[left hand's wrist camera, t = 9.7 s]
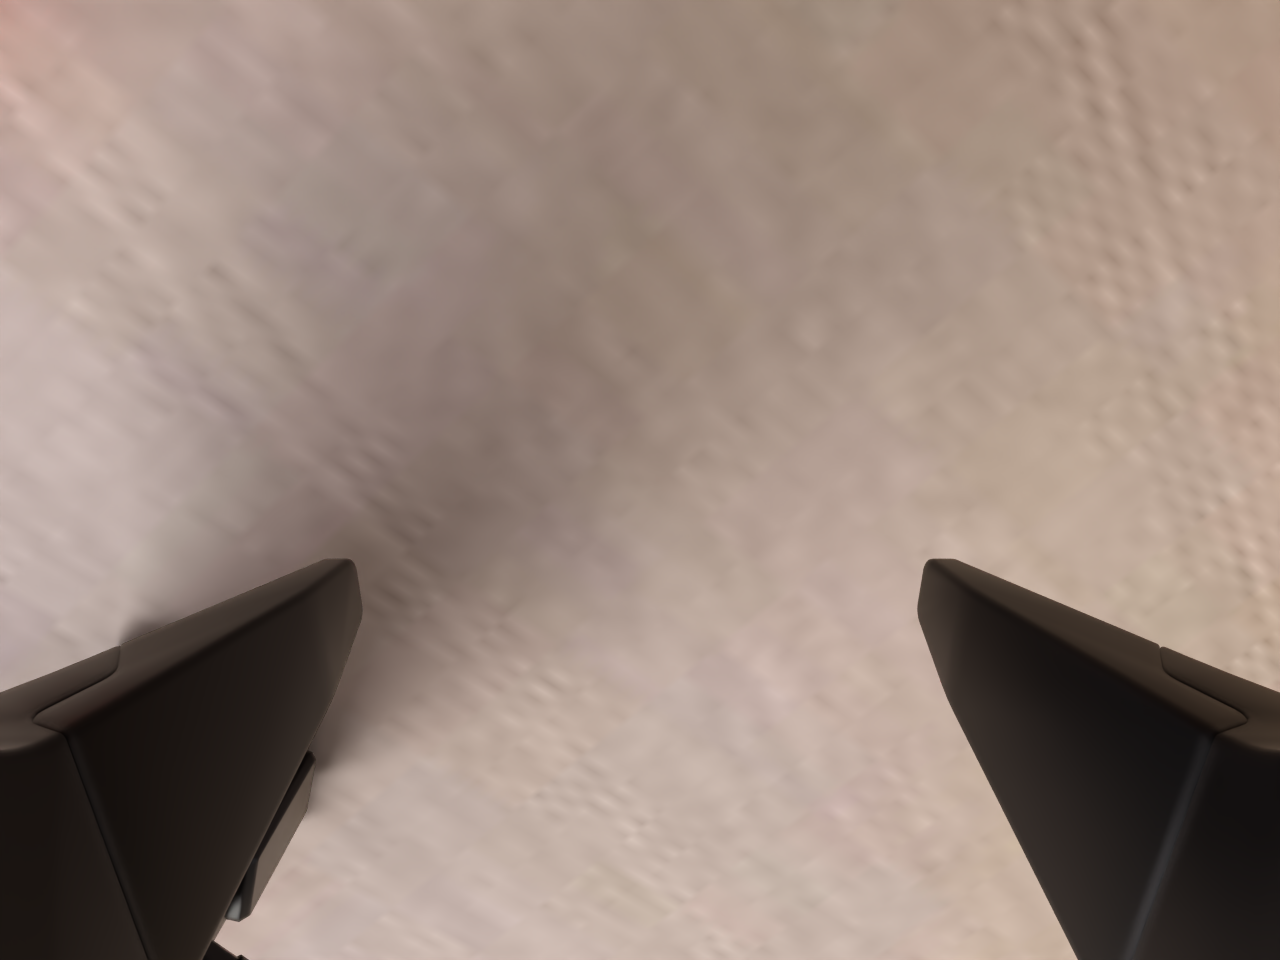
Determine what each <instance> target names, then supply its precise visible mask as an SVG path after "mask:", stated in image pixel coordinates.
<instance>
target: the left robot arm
mask: <svg viewBox="0 0 1280 960" xmlns="http://www.w3.org/2000/svg"><path fill="white" fill-rule="evenodd" d="M362 611H363V609H362V600H361V594H360V587H359V581H358V575H357V570H356V566H355V564H354V562H353V561H352V560H350V559H324V560H322V561H319V562H317V563H315V564H312V565H310V566H307V567H305V568H303V569H300V570H298V571H295V572H293V573H291V574H288V575H286V576H284V577H281V578H279V579H276V580H274V581H272V582H269V583H267V584H264V585H262V586H260V587H257V588H255V589H252V590H250V591H248V592H245V593H243V594H241V595H238V596H236V597H233V598H231V599H229V600H226V601H224V602H221V603H219V604H217V605H214V606H212V607H209V608H207V609H205V610H202V611H200V612H198V613H195V614H193V615H190V616H188V617H186V618H183V619H181V620H178V621H176V622H174V623H171V624H169V625H167V626H164V627H162V628H159V629H157V630H155V631H152V632H150V633H147V634H145V635H143V636H140V637H138V638H135V639H133V640H131V641H128V642H126V643H124V644H122V645H121V646H118V647H114V648H111V649H109V650H107V651H104V652H102V653H99V654H97V655H95V656H92V657H90V658H87V659H85V660H82V661H80V662H77V663H75V664H73V665H70V666H68V667H65V668H63V669H60V670H58V671H55V672H53V673H50V674H48V675H45V676H42V677H40V678H37V679H35V680H32V681H29V682H27V683H24V684H21V685H19V686H16V687H14V688H11V689H8V690H6V691H3V692H0V960H248V959H247V958H245V957H244V956H242V955H239V956H235V955H234V954H232V953H231V952H229V951H228V950H226V949H225V948H223V947H222V946H220V945H219V944H218V943H216V942H215V941H214V940H215V938H216V936H217V934H218V933H219V931H220V929H221V927H222V926H223V924H224V922H225V921H226V919H228V920H233V921H238V922H240V921H241V920H243V919H244V918H246V917H248V916H249V915H250V914H251V913H252V911H253V909H254V907H255V905H256V903H257V902H258V900H259V898H260V896H261V894H262V892H263V891H264V889H265V887H266V885H267V883H268V881H269V880H270V878H271V876H272V874H273V872H274V870H275V868H276V867H277V865H278V863H279V861H280V859H281V857H282V856H283V854H284V852H285V850H286V848H287V846H288V844H289V843H290V841H291V839H292V837H293V835H294V833H295V832H296V830H297V828H298V826H299V824H300V822H301V821H302V819H303V817H304V815H305V813H306V811H307V806H308V801H309V795H310V790H311V785H312V779H313V774H314V769H315V763H316V759H315V756H314V754H313V752H310V751H308V749H309V745H310V743H311V741H312V740H313V738H314V736H315V734H316V732H317V730H318V728H319V726H320V724H321V722H322V720H323V718H324V716H325V714H326V712H327V709H328V707H329V705H330V703H331V701H332V699H333V696H334V694H335V691H336V689H337V686H338V683H339V681H340V678H341V675H342V672H343V669H344V667H345V664H346V661H347V658H348V655H349V653H350V650H351V647H352V644H353V641H354V639H355V636H356V633H357V630H358V627H359V625H360V622H361V618H362ZM917 611H918V618H919V622H920V625H921V628H922V630H923V633H924V636H925V639H926V641H927V644H928V647H929V650H930V653H931V655H932V658H933V661H934V664H935V667H936V669H937V672H938V675H939V678H940V681H941V683H942V686H943V689H944V691H945V694H946V696H947V699H948V701H949V703H950V705H951V707H952V709H953V712H954V714H955V716H956V718H957V720H958V722H959V724H960V726H961V728H962V730H963V732H964V734H965V736H966V738H967V740H968V742H969V744H970V746H971V748H972V750H973V752H974V753H975V755H976V757H977V759H978V761H979V763H980V765H981V767H982V769H983V771H984V773H985V775H986V777H987V779H988V781H989V783H990V785H991V787H992V789H993V791H994V793H995V795H996V797H997V799H998V801H999V803H1000V805H1001V807H1002V809H1003V811H1004V813H1005V815H1006V817H1007V819H1008V821H1009V823H1010V825H1011V827H1012V829H1013V831H1014V833H1015V835H1016V837H1017V839H1018V841H1019V843H1020V845H1021V847H1022V849H1023V851H1024V853H1025V855H1026V857H1027V859H1028V861H1029V863H1030V865H1031V867H1032V869H1033V871H1034V873H1035V875H1036V877H1037V879H1038V881H1039V883H1040V885H1041V887H1042V889H1043V891H1044V893H1045V895H1046V897H1047V899H1048V901H1049V903H1050V905H1051V907H1052V909H1053V911H1054V913H1055V915H1056V917H1057V919H1058V921H1059V923H1060V925H1061V927H1062V929H1063V931H1064V933H1065V935H1066V937H1067V939H1068V941H1069V943H1070V945H1071V947H1072V949H1073V951H1074V953H1075V955H1076V957H1077V959H1078V960H1280V692H1277V691H1274V690H1272V689H1269V688H1266V687H1264V686H1261V685H1259V684H1256V683H1253V682H1251V681H1248V680H1245V679H1243V678H1240V677H1238V676H1235V675H1232V674H1230V673H1227V672H1225V671H1222V670H1220V669H1217V668H1215V667H1212V666H1210V665H1207V664H1205V663H1203V662H1200V661H1198V660H1195V659H1193V658H1190V657H1188V656H1185V655H1183V654H1181V653H1178V652H1176V651H1173V650H1171V649H1169V648H1166V647H1161V648H1160V647H1159V645H1158V644H1156V643H1154V642H1152V641H1149V640H1147V639H1144V638H1142V637H1140V636H1137V635H1135V634H1133V633H1130V632H1128V631H1125V630H1123V629H1121V628H1118V627H1116V626H1113V625H1111V624H1109V623H1106V622H1104V621H1102V620H1099V619H1097V618H1094V617H1092V616H1090V615H1087V614H1085V613H1082V612H1080V611H1078V610H1075V609H1073V608H1070V607H1068V606H1066V605H1063V604H1061V603H1059V602H1056V601H1054V600H1051V599H1049V598H1047V597H1044V596H1042V595H1039V594H1037V593H1035V592H1032V591H1030V590H1028V589H1025V588H1023V587H1020V586H1018V585H1016V584H1013V583H1011V582H1008V581H1006V580H1004V579H1001V578H999V577H996V576H994V575H992V574H989V573H987V572H985V571H982V570H980V569H977V568H975V567H973V566H970V565H968V564H965V563H963V562H961V561H958V560H956V559H930V560H928V561H927V562H926V564H925V566H924V569H923V575H922V581H921V587H920V593H919V600H918V608H917Z"/></svg>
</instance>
